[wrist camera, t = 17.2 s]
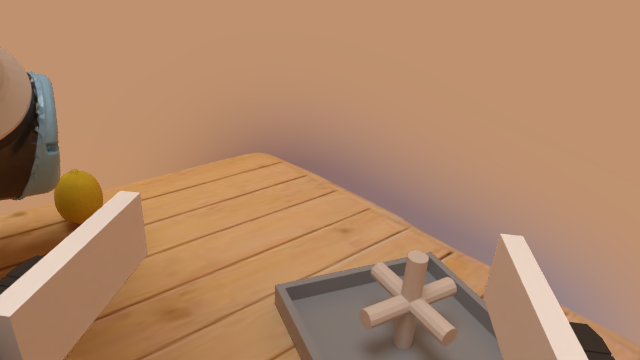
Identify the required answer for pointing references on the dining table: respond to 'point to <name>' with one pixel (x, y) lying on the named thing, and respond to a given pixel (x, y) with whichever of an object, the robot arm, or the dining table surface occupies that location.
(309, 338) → the tray
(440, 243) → the dining table surface
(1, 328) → the robot arm
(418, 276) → the pipe connector
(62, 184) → the lemon
